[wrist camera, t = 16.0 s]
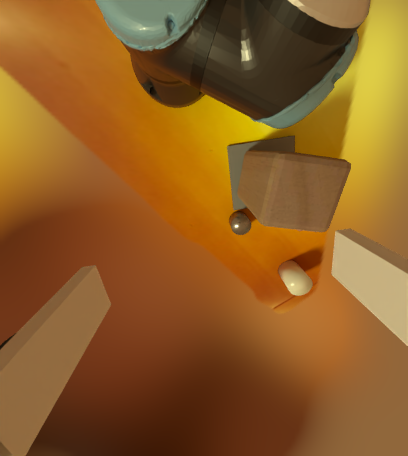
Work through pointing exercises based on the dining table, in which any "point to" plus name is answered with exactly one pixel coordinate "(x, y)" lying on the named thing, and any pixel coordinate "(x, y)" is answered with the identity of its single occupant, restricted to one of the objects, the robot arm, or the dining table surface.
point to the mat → (237, 157)
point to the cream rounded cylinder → (295, 278)
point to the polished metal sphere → (239, 223)
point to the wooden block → (292, 188)
